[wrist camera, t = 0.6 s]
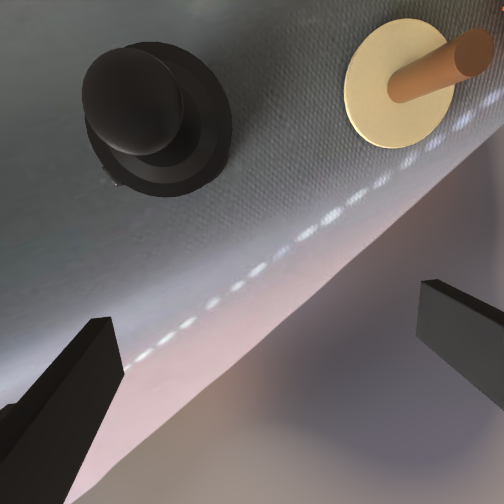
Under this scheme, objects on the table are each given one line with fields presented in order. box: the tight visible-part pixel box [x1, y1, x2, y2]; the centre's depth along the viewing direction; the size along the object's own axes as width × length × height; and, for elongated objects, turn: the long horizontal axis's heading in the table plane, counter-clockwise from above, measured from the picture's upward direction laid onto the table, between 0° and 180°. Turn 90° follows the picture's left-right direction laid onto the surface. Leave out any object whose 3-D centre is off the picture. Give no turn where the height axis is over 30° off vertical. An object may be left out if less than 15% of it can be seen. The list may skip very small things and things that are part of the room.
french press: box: [82, 42, 232, 197], centre depth 23 cm, size 12×9×23 cm
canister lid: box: [344, 19, 494, 148], centre depth 29 cm, size 14×14×11 cm
